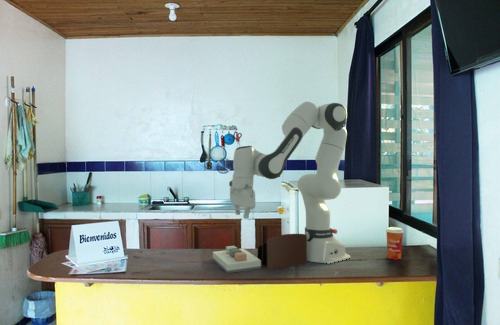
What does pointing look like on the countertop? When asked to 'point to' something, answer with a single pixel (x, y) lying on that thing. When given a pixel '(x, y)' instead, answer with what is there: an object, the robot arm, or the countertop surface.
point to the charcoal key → (233, 251)
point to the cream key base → (234, 266)
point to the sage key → (229, 249)
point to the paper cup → (394, 242)
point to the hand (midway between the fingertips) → (241, 216)
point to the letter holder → (283, 251)
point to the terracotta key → (240, 256)
